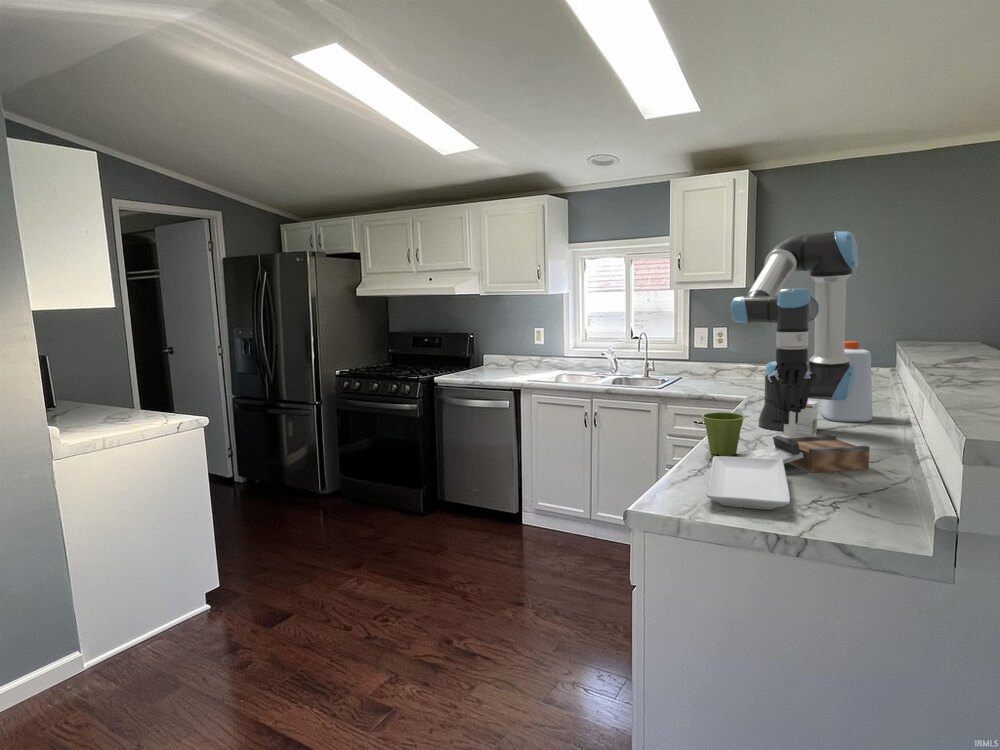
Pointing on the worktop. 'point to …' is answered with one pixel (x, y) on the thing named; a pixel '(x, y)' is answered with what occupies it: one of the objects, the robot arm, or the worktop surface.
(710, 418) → the plant pot
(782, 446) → the lid
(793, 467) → the rubber mat
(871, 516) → the worktop surface
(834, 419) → the plastic bottle
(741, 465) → the tray
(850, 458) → the walnut box
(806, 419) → the syrup box
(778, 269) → the robot arm
